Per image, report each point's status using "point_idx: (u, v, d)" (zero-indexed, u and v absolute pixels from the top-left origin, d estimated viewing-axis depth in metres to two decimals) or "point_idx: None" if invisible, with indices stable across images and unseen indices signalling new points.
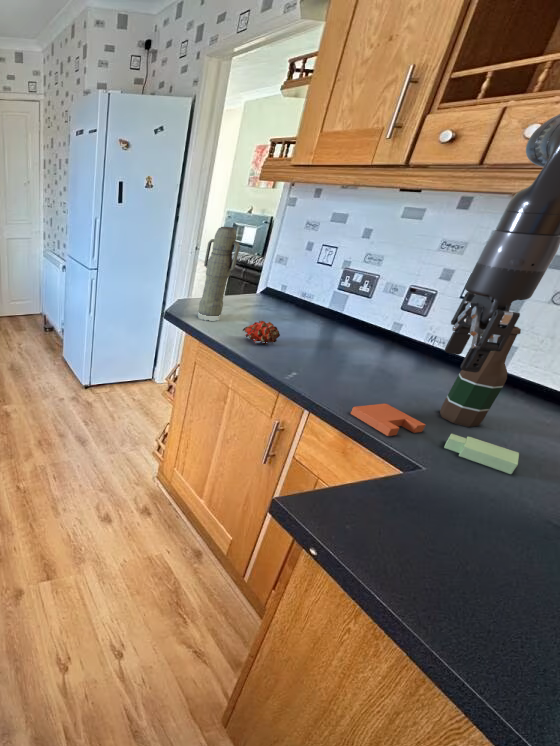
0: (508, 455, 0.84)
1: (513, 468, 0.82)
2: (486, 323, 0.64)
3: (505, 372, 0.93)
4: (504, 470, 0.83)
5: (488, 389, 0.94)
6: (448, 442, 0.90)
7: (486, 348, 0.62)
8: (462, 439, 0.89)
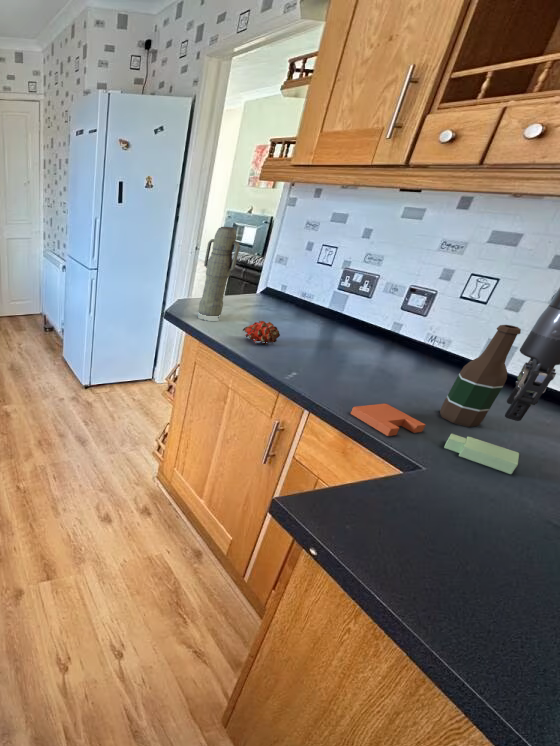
0: (508, 455, 0.84)
1: (513, 468, 0.82)
2: None
3: (505, 372, 0.93)
4: (504, 470, 0.83)
5: (488, 389, 0.94)
6: (448, 442, 0.90)
7: (522, 401, 0.75)
8: (462, 439, 0.89)
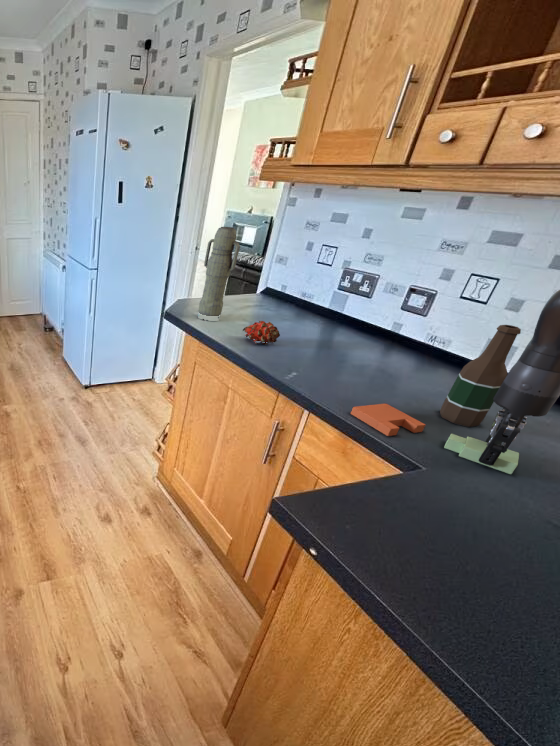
0: (508, 455, 0.84)
1: (513, 468, 0.82)
2: None
3: (505, 372, 0.93)
4: (504, 470, 0.83)
5: (488, 389, 0.94)
6: (448, 442, 0.90)
7: (493, 448, 0.81)
8: (462, 439, 0.89)
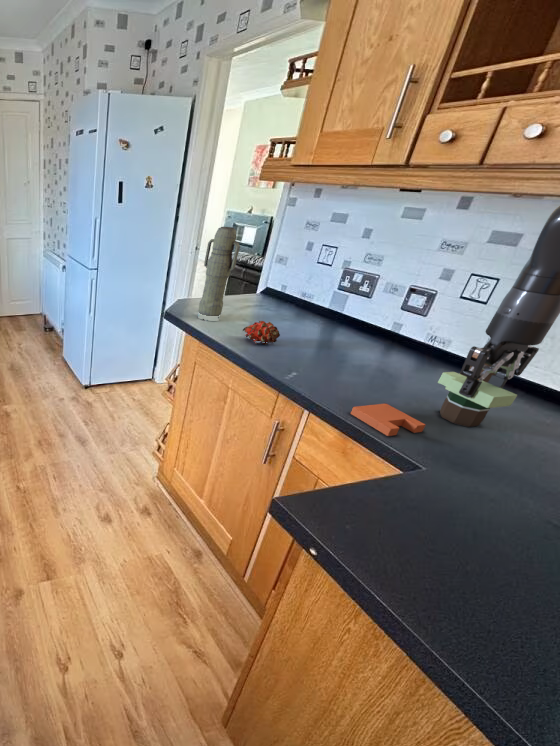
0: (496, 392, 0.80)
1: (490, 401, 0.79)
2: None
3: None
4: (481, 404, 0.80)
5: None
6: (441, 376, 0.88)
7: (464, 374, 0.80)
8: (459, 376, 0.86)
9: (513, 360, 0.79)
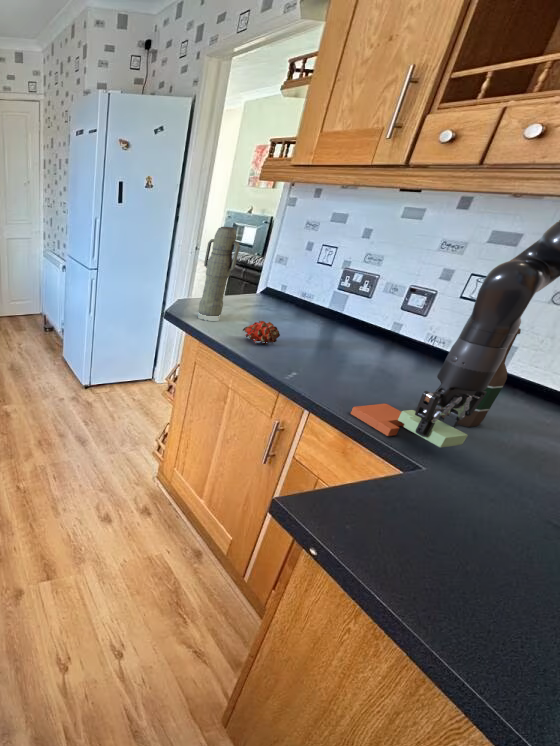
0: (449, 432, 0.86)
1: (442, 441, 0.85)
2: None
3: (505, 372, 0.93)
4: (435, 443, 0.86)
5: (488, 389, 0.94)
6: (401, 414, 0.94)
7: (418, 416, 0.86)
8: None
9: (462, 403, 0.85)
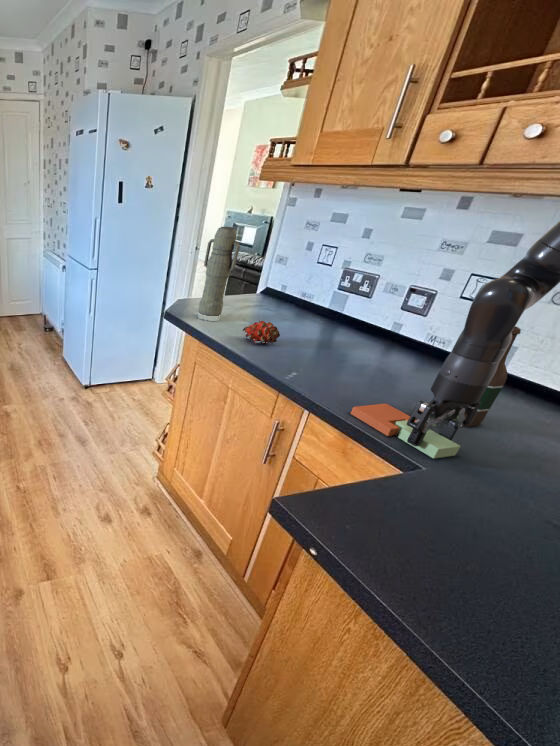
0: (442, 443, 0.88)
1: (435, 452, 0.86)
2: None
3: (505, 372, 0.93)
4: (428, 454, 0.88)
5: (488, 389, 0.94)
6: None
7: (410, 426, 0.87)
8: None
9: (457, 415, 0.86)
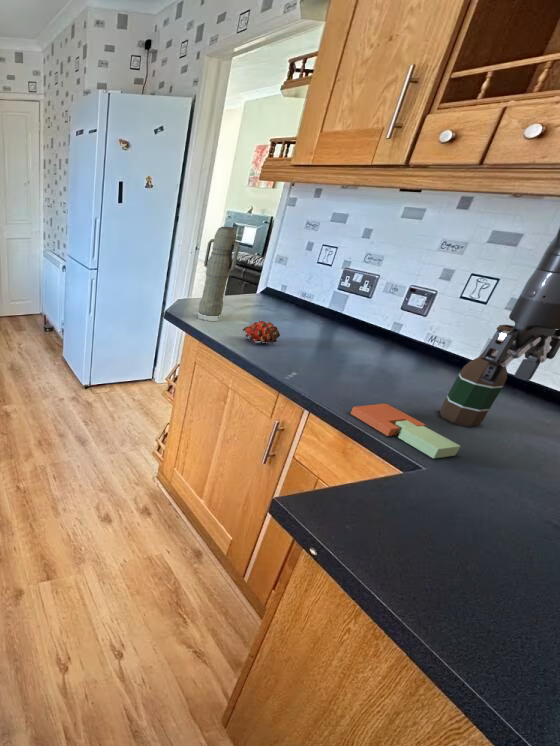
0: (442, 443, 0.88)
1: (435, 452, 0.86)
2: None
3: (505, 372, 0.93)
4: (428, 454, 0.88)
5: (488, 389, 0.94)
6: None
7: (486, 359, 0.76)
8: (410, 425, 0.94)
9: (541, 345, 0.75)
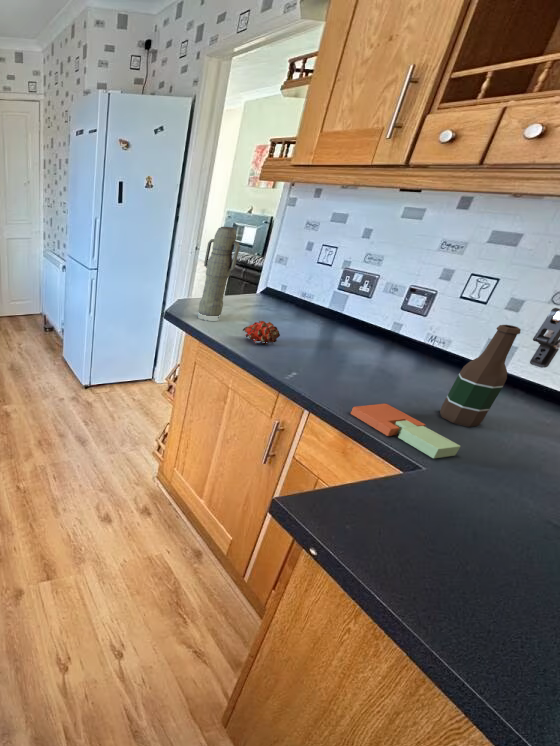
0: (442, 443, 0.88)
1: (435, 452, 0.86)
2: None
3: (505, 372, 0.93)
4: (428, 454, 0.88)
5: (488, 389, 0.94)
6: None
7: (538, 341, 0.71)
8: (410, 425, 0.94)
9: None
